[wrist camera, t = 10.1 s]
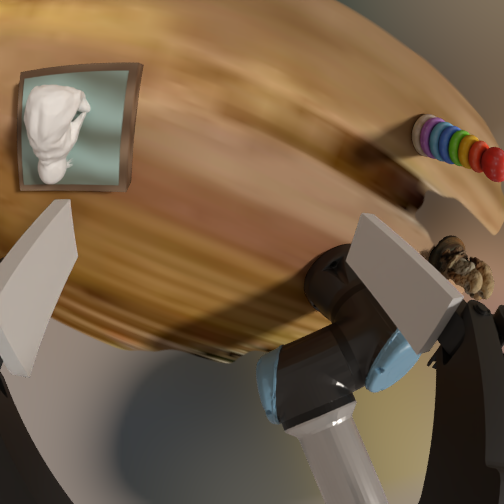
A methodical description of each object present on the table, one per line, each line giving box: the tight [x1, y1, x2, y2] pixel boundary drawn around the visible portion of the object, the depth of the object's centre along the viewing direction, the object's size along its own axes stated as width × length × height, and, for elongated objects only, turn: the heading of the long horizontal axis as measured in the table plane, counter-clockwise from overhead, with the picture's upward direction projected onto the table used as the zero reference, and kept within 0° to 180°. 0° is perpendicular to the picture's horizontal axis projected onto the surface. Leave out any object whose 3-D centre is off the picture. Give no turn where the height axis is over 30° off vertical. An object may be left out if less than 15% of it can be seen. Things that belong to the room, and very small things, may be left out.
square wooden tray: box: [17, 63, 143, 192], centre depth 28 cm, size 16×16×4 cm
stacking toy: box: [412, 114, 504, 182], centre depth 34 cm, size 8×8×19 cm
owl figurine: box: [429, 236, 494, 300], centre depth 54 cm, size 18×12×17 cm, turn 61°
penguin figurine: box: [24, 85, 91, 184], centre depth 23 cm, size 6×8×12 cm
